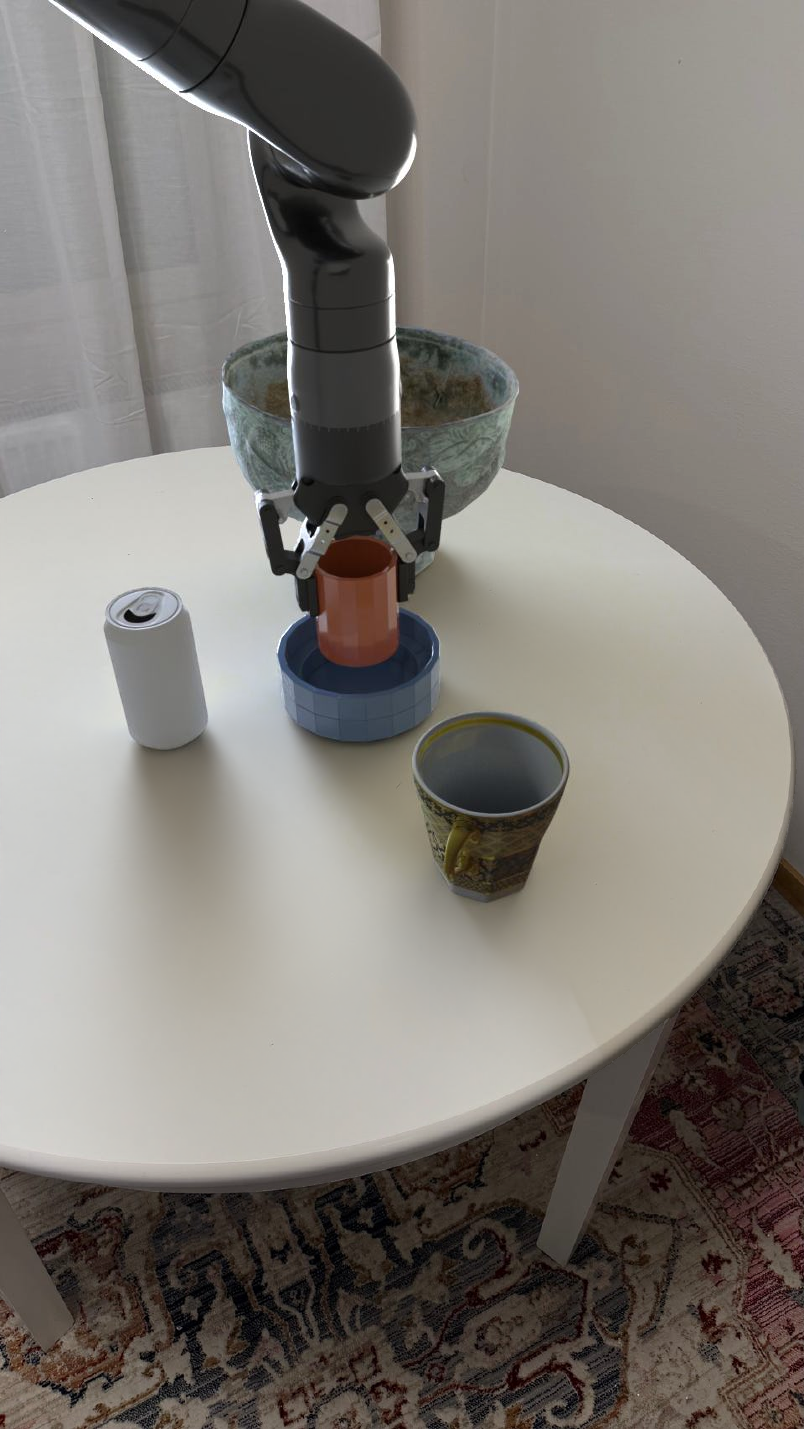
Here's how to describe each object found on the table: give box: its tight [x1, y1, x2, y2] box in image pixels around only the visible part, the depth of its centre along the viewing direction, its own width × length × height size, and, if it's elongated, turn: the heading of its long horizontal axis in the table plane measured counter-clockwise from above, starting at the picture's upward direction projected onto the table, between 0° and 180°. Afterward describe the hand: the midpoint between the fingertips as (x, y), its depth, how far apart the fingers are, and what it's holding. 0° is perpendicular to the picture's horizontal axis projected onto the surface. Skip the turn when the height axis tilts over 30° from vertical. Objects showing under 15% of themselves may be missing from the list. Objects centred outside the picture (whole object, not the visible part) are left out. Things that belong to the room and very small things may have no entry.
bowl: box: [276, 606, 441, 742], centre depth 83 cm, size 13×13×5 cm
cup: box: [313, 536, 400, 667], centre depth 79 cm, size 6×6×8 cm
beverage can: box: [102, 586, 209, 751], centre depth 78 cm, size 6×6×12 cm
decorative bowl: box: [221, 323, 520, 577], centre depth 95 cm, size 26×26×20 cm
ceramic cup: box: [411, 710, 571, 903], centre depth 66 cm, size 13×10×10 cm
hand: (356, 603), depth 79 cm, fingers closed on cup, 6 cm apart
